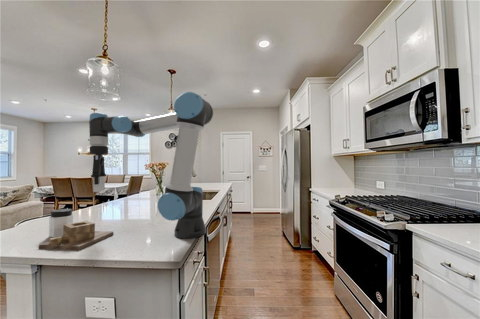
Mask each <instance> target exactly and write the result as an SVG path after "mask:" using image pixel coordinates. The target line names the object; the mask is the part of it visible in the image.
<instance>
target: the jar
mask: <svg viewBox="0 0 480 319" xmlns="http://www.w3.org/2000/svg"><path fill="white" fill-rule="evenodd" d="M48 220H49V225H48V237H49V238H55V237H60V236H63V228H64V225H65V224H71V223H74V214H73V208H61V209H53V210H51V211H50V216H49V219H48Z"/></svg>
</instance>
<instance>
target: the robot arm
mask: <svg viewBox="0 0 480 319" xmlns="http://www.w3.org/2000/svg"><path fill="white" fill-rule="evenodd" d="M173 109H174V112H173V113H167V114H164V115H158V116H153V117H149V118H144V119H140V120H131V119H130V118H129V116H126V115H117V116H108V115H107V114H105V113H103V112H92V113H90V114H89V122H88V123H89V124H88V125H89V138H88V139H87V141H89V154H90V155H93V163H92V172H91V175H90V177H91V178H92V192H93V193H96V192H97V193H98V192H99V193H100V192H101V190H105V188H106V187H105V186H106V185H105V180H106V179H105V177H107V173H106V171H105V157H104V156H103V155H105V156H106V155H108V154H109V147H108V146H109V134H115V133H116V134H122V135H127V136H132V137H136V138H138V137H139V138H142V137H145V136H146V135H148V134H154V133H159V132H164V131H169V130H174V129H178V132H177V134H178V135H177V139H176V145H175V152H174V157H173V164H172V167H171V168H172V169H171V176H170V181H169V183H168V184H166V185H165V188H164V193H163V194H162V195H161V196H160V197H159V199H158V201H157V211H158V212H159V214H160V215H161V217H162V218H164V219H165V220H167V221H177V222H176V224H175V228H174V233H173V234H174V237H176V238H178V239H179V238H180V239H195V238H199V237H203V236H205V235H206V234H207V226H206V224H205V222H204V221H205V220H204V218H203V213H204V212H203V211H204V210H203V198H204V197H203V196H204V194H203V193H204V192H203V188H202V187H201V186H200V187H199V186H191V184H192V177H193V171H194V165H195V158H196V154H197V149H198V148H197V147H198V142H199V136H200V132H201V131H202V130H203V129H204V126H206V125H207V124H209V123H210V122H211V121H212V119H213V117H214V108H213V107H212V105H211V104H210V103H209V102H208V101H207V100H205V99H204V98H202V96H201V95H199V94H197V93H195V92H193V91H186V92H183V93H181V94H180V95H179V96H177V97H176V99H175V101H174V104H173Z"/></svg>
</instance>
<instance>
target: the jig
mask: <svg viewBox="0 0 480 319" xmlns="http://www.w3.org/2000/svg"><path fill="white" fill-rule="evenodd" d="M111 236H114V231H106V230H105V231H104V230H102V231H101V230H95V237H92V238H88V239H84V240H79V241H75V242H71V243H70V242H69V241H65V242H62V237H59V238H57V244H52V245H51V244H50V240H48V241H46V242H43V243H40V244H38V249H41V250H42V249H43V250H44V249H47V250H69V251H81V250H83V249H86V248H87V247H90V246H92V245H94V244H96V243H98V242H101V241H102V240H105V239H107V238H109V237H111Z"/></svg>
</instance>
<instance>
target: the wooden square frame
mask: <svg viewBox="0 0 480 319" xmlns="http://www.w3.org/2000/svg"><path fill="white" fill-rule="evenodd" d="M95 229H96V223H95V222H92V221H88V220H83V221H77V222H73V223H71V224H65V225H64V228H63V236H60V237H62V242H65V241H69V242H70V243H71V242H75V241H79V240H84V239H88V238H92V237H95V231H96V230H95ZM57 238H59V237H55V238H53V237H49V241H50V244H51V245H52V244H57Z"/></svg>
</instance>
